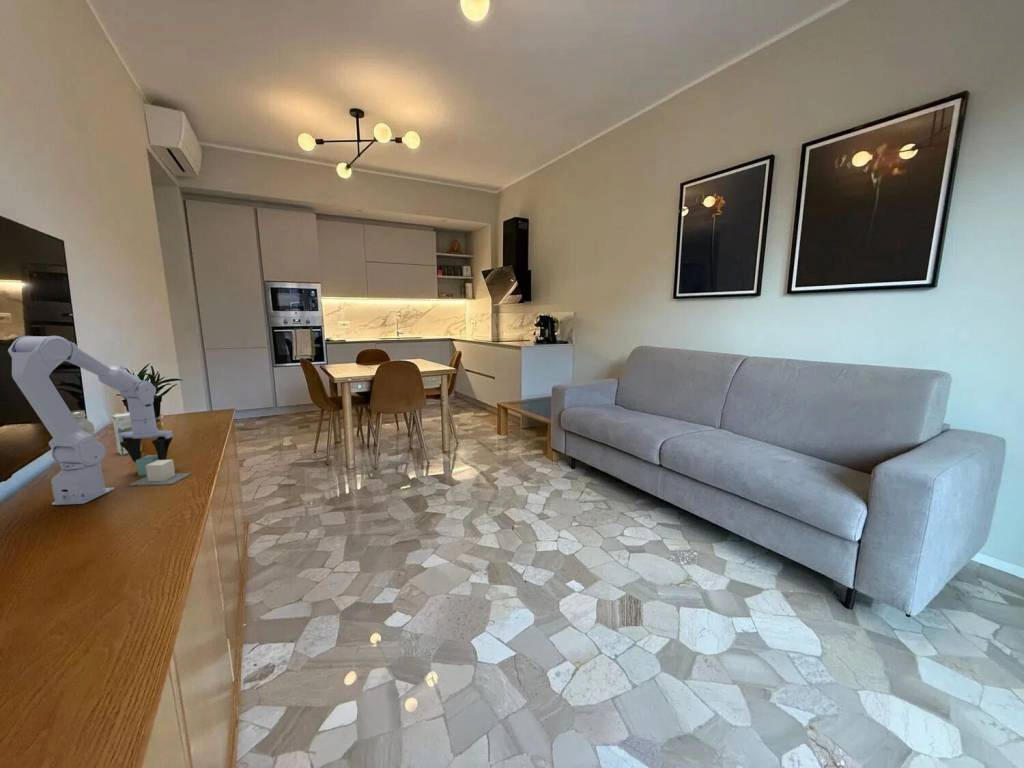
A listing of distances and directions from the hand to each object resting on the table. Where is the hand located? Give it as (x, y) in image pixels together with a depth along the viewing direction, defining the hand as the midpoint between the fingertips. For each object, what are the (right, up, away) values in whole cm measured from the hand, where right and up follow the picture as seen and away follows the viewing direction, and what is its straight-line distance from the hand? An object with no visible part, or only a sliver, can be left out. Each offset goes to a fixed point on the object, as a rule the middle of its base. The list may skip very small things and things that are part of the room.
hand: (150, 460), depth 130 cm
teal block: (0, -4, +1) cm, 4 cm away
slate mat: (+8, -5, -6) cm, 11 cm away
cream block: (+8, -4, -5) cm, 11 cm away
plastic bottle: (-20, -4, 0) cm, 20 cm away
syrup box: (-25, -1, +21) cm, 33 cm away
